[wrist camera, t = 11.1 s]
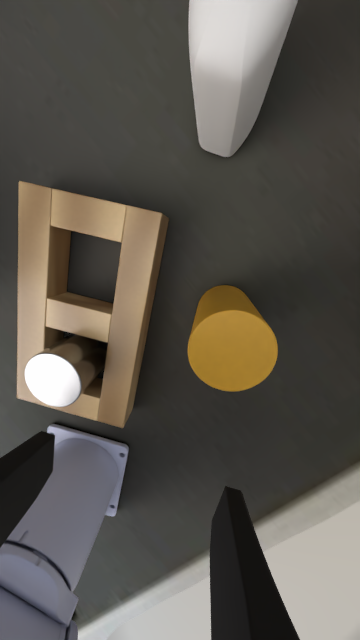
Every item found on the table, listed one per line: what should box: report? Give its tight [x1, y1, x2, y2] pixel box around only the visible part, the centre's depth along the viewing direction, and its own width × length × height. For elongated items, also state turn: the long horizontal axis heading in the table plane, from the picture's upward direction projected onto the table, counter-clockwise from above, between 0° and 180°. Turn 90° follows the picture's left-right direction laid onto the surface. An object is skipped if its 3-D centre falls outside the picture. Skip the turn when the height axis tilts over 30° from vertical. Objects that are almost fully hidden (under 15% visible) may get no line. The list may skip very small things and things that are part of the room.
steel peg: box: [24, 333, 108, 407], centre depth 18 cm, size 4×4×5 cm
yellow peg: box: [188, 285, 278, 391], centre depth 14 cm, size 4×4×8 cm
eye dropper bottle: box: [189, 0, 298, 157], centre depth 9 cm, size 4×6×12 cm
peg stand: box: [17, 181, 169, 428], centre depth 18 cm, size 9×16×2 cm, turn 167°
